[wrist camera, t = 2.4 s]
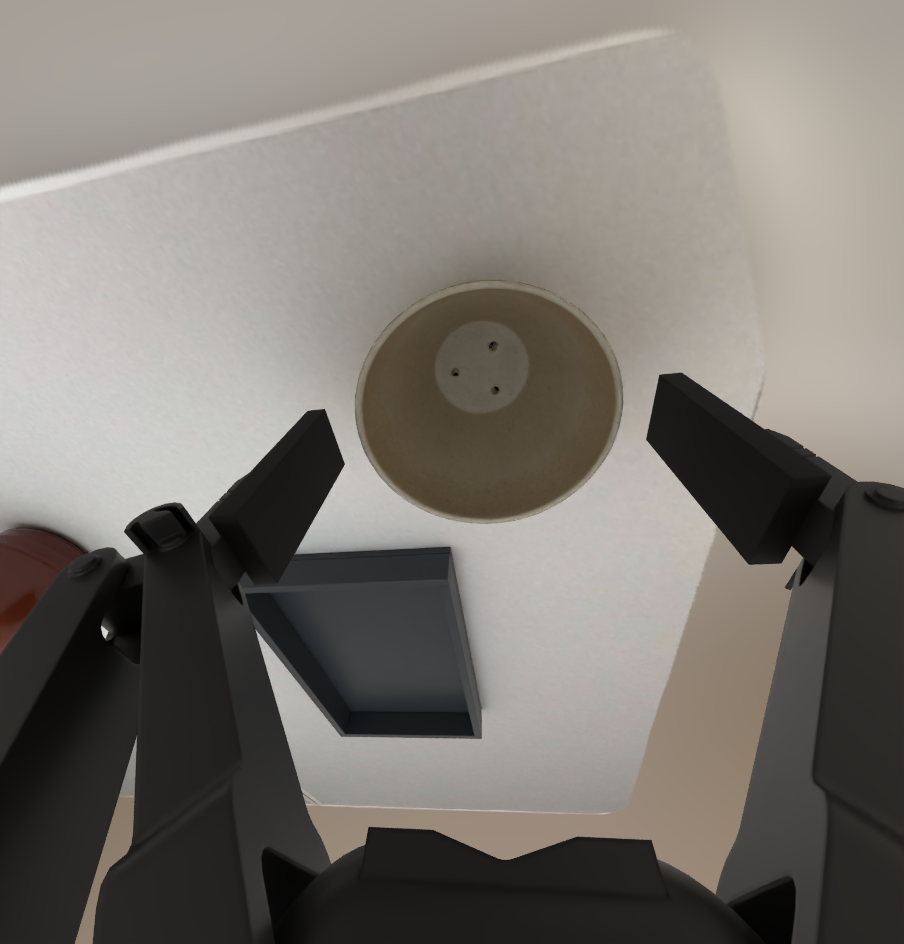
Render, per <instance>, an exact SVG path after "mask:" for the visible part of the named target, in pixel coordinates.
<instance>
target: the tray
mask: <svg viewBox="0 0 904 944" xmlns="http://www.w3.org/2000/svg"><path fill="white" fill-rule="evenodd" d="M239 584H240V585H241V587H242V588H243V589H244V592H245V596H246V599H247V603H248V606H249V610H250V613H251V617H252V620H253V623H254V627H255V629H256V630H257V632H258V633H259V634H260V635H261V637H262V638H263V639H264V640H265V642H266V643H267V644H268V645H269V647H270V648H271V649H272V650H273V652H274V653H275V654H276V655H277V657H278V658H279V659H280V660H281V662H282V663H283V664H284V665H285V667H286V668H287V669H288V670H289V672H290V673H291V674H292V675H293V677H294V678H295V679H296V680H297V682H298V683H299V684H300V686H301V687H302V688H303V689H304V691H305V692H306V693H307V694H308V696H309V697H310V698H311V699H312V701H313V702H314V703H315V704H316V706H317V707H318V708H319V709H320V711H321V712H322V713H323V714H324V716H325V717H326V718H327V719H328V721H329V722H330V723H331V724H332V726H333V727H334V728H335V729H336V731H337V732H338V733H339V734H340V736H341V737H403V738H468V739H482V715H481V705H480V700H479V695H478V689H477V684H476V679H475V674H474V669H473V663H472V658H471V653H470V648H469V642H468V637H467V632H466V627H465V622H464V616H463V611H462V606H461V601H460V596H459V590H458V585H457V580H456V575H455V569H454V564H453V559H452V554H451V549H450V547H446V548H426V549H407V550H387V551H367V552H347V553H327V554H307V555H293V557H292V559H291V561H290V563H289V564H288V566H287V568H286V570H285V571H284V573H283V575H282V577H281V579H280V580H279V582H278V584H261V585H254V584H253V582H252V581H251V579H250V578H249V576H248V575H247V573H246V572H245V573H244V574H243V576H242V577H241V579H240V580H239Z"/></svg>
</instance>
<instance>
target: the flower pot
mask: <svg viewBox="0 0 904 944" xmlns="http://www.w3.org/2000/svg"><path fill="white" fill-rule="evenodd" d="M491 342H492V343H493V345H492V347H491V348H489V345H490V343H491ZM454 373H458V375H457V376H453V374H454ZM494 387H498V388H499V390H495V388H494ZM622 409H623V386H622V380H621V373H620V369H619V366H618V363H617V360H616V357H615V355H614V352H613V350H612V348H611V346H610V345H609V343H608V341H607V340H606V338H605V336H604V335H603V334H602V332H601V331H600V330H599V328H598V327H597V326H596V325H595V323H594V322H593V321H592V320H591V319H590V318H589V317H588V316H587V315H586V314H585V313H583V312H582V311H581V310H580V309H579V308H577V307H576V306H575V305H573V304H572V303H570V302H569V301H567V300H565V299H564V298H562V297H560V296H558V295H556V294H554V293H552V292H550V291H548V290H545V289H543V288H539V287H536V286H532V285H528V284H524V283H519V282H511V281H503V280H484V281H474V282H467V283H463V284H458V285H454V286H451V287H448V288H445V289H442V290H440V291H438V292H435V293H433V294H431V295H429V296H427V297H425V298H423V299H421V300H419V301H417V302H416V303H414V304H413V305H411V306H410V307H409V308H407V309H406V310H405V311H403V312H402V313H401V314H400V315H399V316H397V317H396V318H395V319H394V320H393V321H392V322H391V323H390V324H389V325H388V326H387V327H386V328H385V330H384V331H383V332H382V333H381V334H380V336H379V337H378V338H377V340H376V341H375V343H374V345H373V346H372V348H371V349H370V351H369V353H368V355H367V357H366V359H365V361H364V364H363V366H362V369H361V372H360V375H359V379H358V384H357V389H356V395H355V418H356V425H357V430H358V434H359V438H360V440H361V444H362V447H363V449H364V451H365V454H366V456H367V457H368V459H369V461H370V463H371V464H372V466H373V467H374V469H375V470H376V472H377V473H378V475H379V476H380V477H381V478H382V479H383V480H384V482H385V483H386V484H387V485H388V486H389V487H390V488H391V489H392V490H394V491H395V492H396V493H397V494H398V495H400V496H401V497H402V498H404V499H405V500H407V501H408V502H410V503H411V504H413V505H415V506H416V507H418V508H420V509H422V510H424V511H426V512H428V513H431V514H434V515H436V516H439V517H443V518H446V519H449V520H454V521H459V522H466V523H478V524H491V523H502V522H509V521H515V520H519V519H523V518H526V517H530V516H533V515H536V514H538V513H541V512H543V511H545V510H547V509H550V508H551V507H553V506H555V505H557V504H559V503H560V502H562V501H563V500H565V499H566V498H568V497H569V496H571V495H572V494H573V493H575V492H576V491H577V490H578V489H579V488H581V487H582V486H583V485H584V484H585V483H586V482H587V481H588V480H589V479H590V478H591V477H592V476H593V474H594V473H595V472H596V471H597V470H598V468H599V467H600V466H601V464H602V463H603V462H604V460H605V458H606V457H607V455H608V453H609V452H610V450H611V448H612V446H613V443H614V441H615V438H616V435H617V432H618V429H619V426H620V421H621V416H622Z"/></svg>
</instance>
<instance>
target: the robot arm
mask: <svg viewBox="0 0 904 944" xmlns="http://www.w3.org/2000/svg"><path fill="white" fill-rule="evenodd" d="M646 440H647V441H648V442H649V444H650V445H651V446H652V447H653V449H654V450H655V451H656V452H657V453H658V455H659V456H660V457H661V458H662V459H663V461H664V462H665V463H666V464H667V466H668V467H669V468H670V469H671V470H672V472H673V473H674V474H675V475H676V477H677V478H678V479H679V480H680V481H681V483H682V484H683V485H684V486H685V488H686V489H687V490H688V491H689V492H690V494H691V495H692V496H693V497H694V498H695V500H696V501H697V502H698V503H699V505H700V506H701V507H702V508H703V509H704V511H705V512H706V513H707V514H708V516H709V517H710V518H711V519H712V520H713V522H714V523H715V524H716V525H717V526H718V528H719V529H720V530H721V531H722V533H723V534H724V535H725V536H726V537H727V539H728V540H729V541H730V542H731V543H732V545H733V546H734V547H735V548H736V550H737V551H738V552H739V553H740V555H741V556H742V557H743V558H744V559H745V561H746V562H747V563H748V564H749V565H754V564H779V563H782V562H783V560H784V558H785V556H786V555H787V553H788V551H789V550H790V548H791V546H792V547H793V548H795V550H797V552H798V553H799V554H800V555H801V556H802V557H803V559H802V561H801V562H800V564H799V566H798V567H797V569H796V571H795V572H794V574H793V575H792V577H791V579H790V580H789V582H788V583H787V585H786V587H785V588H786V589H789V590H791V589H792V588H793V589H792V593H791V598H790V602H789V607H788V611H787V616H786V620H785V625H784V630H783V634H782V639H781V643H780V648H779V652H778V657H777V661H776V666H775V670H774V675H773V679H772V684H771V688H770V694H769V698H768V702H767V707H766V711H765V716H764V720H763V725H762V730H761V734H760V739H759V743H758V748H757V752H756V757H755V761H754V766H753V770H752V775H751V780H750V784H749V788H748V793H747V798H746V802H745V807H744V811H743V816H742V820H741V825H740V828H739V832H738V835H737V838H736V841H735V843H734V845H733V847H732V849H731V851H730V853H729V855H728V857H727V859H726V861H725V865H724V867H723V870H722V872H721V876H720V880H719V883H718V887H717V891H716V895H715V894H714V893H713V892H711V891H710V890H709V889H707V888H706V887H704V886H703V885H702V884H700V883H699V882H697V881H696V880H695V879H693V878H692V877H690V876H689V875H687V874H685V873H684V872H682V871H680V870H678V869H676V868H675V867H673V866H671V865H669V864H667V863H665V862H662V861H660V860H658V859H657V858H656V854H655V851H654V847H653V844H652V840H635V839H615V838H594V837H575V838H572V839H569V840H566V841H563V842H560V843H557V844H555V845H552V846H549V847H546V848H543V849H540V850H537V851H534V852H532V853H528V854H525V855H523V856H520V857H517V858H514V859H510V860H501V859H497V858H495V857H493V856H491V855H488V854H486V853H484V852H482V851H479V850H477V849H475V848H473V847H470V846H468V845H466V844H464V843H461V842H459V841H457V840H454V839H452V838H450V837H448V836H445V835H443V834H441V833H439V832H436V831H434V830H422V829H401V828H379V827H369V828H368V834H367V839H366V844H365V845H364V846H361V847H358V848H357V849H355V850H353V851H351V852H349V853H347V854H345V855H343V856H342V857H341V858H339V859H338V860H336V861H335V862H334V863H332V864H331V862H330V860H329V856H328V853H327V851H326V849H325V846H324V844H323V842H322V839H321V837H320V835H319V834H318V832H317V830H316V828H315V826H314V825H313V823H312V821H311V819H310V816H309V814H308V811H307V808H306V804H305V801H304V797H303V794H302V790H301V787H300V783H299V780H298V776H297V773H296V770H295V766H294V763H293V759H292V756H291V752H290V749H289V745H288V742H287V738H286V735H285V731H284V728H283V724H282V721H281V717H280V714H279V710H278V707H277V703H276V700H275V696H274V693H273V690H272V686H271V683H270V679H269V676H268V672H267V669H266V665H265V662H264V658H263V655H262V651H261V648H260V644H259V641H258V637H257V634H256V630H255V627H254V623H253V620H252V617H251V613H250V610H249V606H248V603H247V599H246V596H245V592H244V589H243V588H242V587H241V585H240V584H239V580H240V579H241V577H242V576H243V574H244V573H245V572H246V573H247V575H248V576H249V578H250V579H251V581H252V582H253V584H254V585H261V584H278V582H279V580H280V579H281V577H282V575H283V573H284V571H285V570H286V568H287V566H288V564H289V563H290V561H291V559H292V557H293V555H294V554H295V552H296V550H297V548H298V547H299V545H300V543H301V541H302V540H303V538H304V536H305V534H306V532H307V531H308V529H309V527H310V525H311V524H312V522H313V520H314V518H315V516H316V515H317V513H318V511H319V509H320V508H321V506H322V504H323V502H324V500H325V499H326V497H327V495H328V493H329V492H330V490H331V488H332V486H333V484H334V483H335V481H336V479H337V477H338V476H339V474H340V472H341V470H342V468H343V467H344V465H345V463H344V461H343V458H342V455H341V452H340V450H339V447H338V444H337V441H336V438H335V436H334V433H333V430H332V427H331V424H330V422H329V419H328V416H327V413H326V411H325V409H321V410H311V411H307V412H306V413H305V414H304V415H303V416H302V417H301V419H300V420H299V421H298V422H297V423H296V424H295V425H294V426H293V427H292V428H291V429H290V430H289V431H288V432H287V433H286V434H285V436H284V437H283V438H282V439H281V440H280V441H279V442H278V443H277V444H276V445H275V446H274V447H273V448H272V449H271V450H270V452H269V453H268V454H267V455H266V456H265V457H264V458H263V459H262V460H261V461H260V462H259V463H258V464H257V465H256V466H255V468H254V469H253V470H252V471H251V472H250V473H249V474H247V475H245V476H244V477H242V478H241V479H239V480H238V481H236V482H235V483H234V485H233V486H232V487H231V488H230V489H229V490H228V491H227V493H225V494H224V495H223V496H222V497H221V498H220V499H219V500H220V501H217V502H216V503H215V504H214V505H213V506H212V507H211V509H210V510H209V511H208V512H207V513H206V514H205V515H204V516H203V517H202V518H201V519H200V520H199V521H198V522H197V523H195V522H194V520H193V519H192V518H191V516H190V515H189V513H188V512H187V511H186V509H185V508H184V506H183V505H182V504H181V503H168V504H164V505H161V506H157V507H155V508H152V509H150V510H148V511H146V512H144V513H143V514H141V515H139V516H138V517H136V518H135V519H134V520H133V521H131V522H130V523H129V524H128V525H127V527H126V529H125V531H124V532H125V533H126V535H127V536H128V537H129V538H130V539H131V540H132V541H133V542H134V544H135V545H136V546H137V547H138V548H139V549H140V550H141V551H142V552H143V554H142V555H138V556H134V557H131V558H127V559H124V558H123V557H122V556H121V555H120V554H119V553H118V552H117V551H116V550H115V549H114V548H102V549H98V550H95V551H92V552H90V553H86V554H84V555H81V556H80V558H79V557H78V558H76V559H74V560H73V561H72V562H71V563H70V564H69V565H67V566H66V567H64V568H63V569H62V570H61V571H60V572H59V573H58V574H57V575H56V577H55V578H54V579H53V581H52V582H51V584H50V585H49V586H48V588H47V589H46V591H45V592H44V593H43V595H42V596H41V598H40V599H39V601H38V602H37V603H36V605H35V606H34V608H33V609H32V610H31V612H30V613H29V615H28V616H27V617H26V619H25V620H24V622H23V623H22V624H21V626H20V627H19V629H18V630H17V632H16V633H15V634H14V636H13V637H12V639H11V640H10V641H9V643H8V644H7V646H6V647H5V648H4V650H3V651H2V653H1V654H0V944H75V940H76V937H77V934H78V930H79V927H80V924H81V920H82V917H83V913H84V910H85V907H86V904H87V900H88V897H89V894H90V890H91V887H92V884H93V880H94V877H95V874H96V870H97V867H98V864H99V860H100V857H101V854H102V850H103V847H104V844H105V840H106V837H107V833H108V830H109V827H110V823H111V820H112V817H113V813H114V810H115V807H116V803H117V800H118V797H119V793H120V790H121V787H122V783H123V780H124V777H125V773H126V770H127V767H128V763H129V760H130V757H131V753H132V750H133V747H134V743H135V740H136V737H137V751H136V776H135V801H134V803H135V804H134V826H133V838H132V844H131V846H130V849H129V851H128V853H127V854H126V855H125V856H124V857H122V858H121V859H120V860H119V861H118V862H116V863H115V864H114V865H113V866H112V867H110V869H109V871H108V872H107V874H106V876H105V878H104V880H103V882H102V884H101V887H100V892H99V897H98V902H97V907H96V915H95V925H94V937H93V944H904V488H901V487H898V486H895V485H891V484H885V483H879V482H857V481H856V480H854V479H852V478H851V477H849V476H848V475H846V474H845V473H843V472H842V471H840V470H839V469H837V468H836V467H834V466H833V465H831V464H830V463H828V462H826V461H825V460H823V459H822V458H820V457H816V454H814V453H813V452H811V451H810V450H808V449H807V448H805V449H804V448H803V446H802V445H801V444H799V443H797V442H796V441H794V440H793V439H791V438H790V437H788V436H785V435H783V434H780V433H777V432H775V431H772V430H770V429H763V428H762V427H760V426H759V425H757V424H756V423H754V422H753V421H752V420H750V419H749V418H747V417H746V416H744V415H743V414H741V413H740V412H738V411H737V410H735V409H734V408H732V407H731V406H730V405H728V404H727V403H725V402H724V401H722V400H721V399H719V398H718V397H716V396H715V395H713V394H712V393H711V392H709V391H708V390H706V389H705V388H703V387H702V386H700V385H699V384H697V383H696V382H694V381H693V380H692V379H690V378H689V377H687V376H686V375H684V374H683V373H672V374H663V375H659V379H658V384H657V389H656V394H655V399H654V404H653V409H652V414H651V418H650V423H649V428H648V433H647V438H646ZM101 625H102V626H103V627H104V628H105V629H106V630H108V631H109V632H108V634H107V637H106V639H105V638H104V637H103V635H102V631H101Z"/></svg>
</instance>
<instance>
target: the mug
mask: <svg viewBox="0 0 904 944" xmlns="http://www.w3.org/2000/svg"><path fill="white" fill-rule="evenodd" d="M81 555H84V553H83V552H82V551H81V550H80V549H79V548H77V547H76V546H75V545H73V544H72V543H70V542H69V541H67V540H65V539H63V538H61V537H59V536H57V535H54V534H51V533H48V532H45V531H41V530H36V529H22V528H16V529H9V530H5V531H3V532H1V533H0V654H1V653H2V651H3V650H4V648H5V647H6V646H7V644H8V643H9V641H10V640H11V639H12V637H13V636H14V634H15V633H16V632H17V630H18V629H19V627H20V626H21V624H22V623H23V622H24V620H25V619H26V617H27V616H28V615H29V613H30V612H31V610H32V609H33V608H34V606H35V605H36V603H37V602H38V601H39V599H40V598H41V596H42V595H43V593H44V592H45V591H46V589H47V588H48V586H49V585H50V584H51V582H52V581H53V579H54V578H55V577H56V575H57V574H58V573H59V572H60V571H61V570H62V569H63V568H64V567H66V566H67V565H69V564H70V563H71V562H72V561H73V560H74V559H76V558H78V557H79V558H80V556H81Z"/></svg>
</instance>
